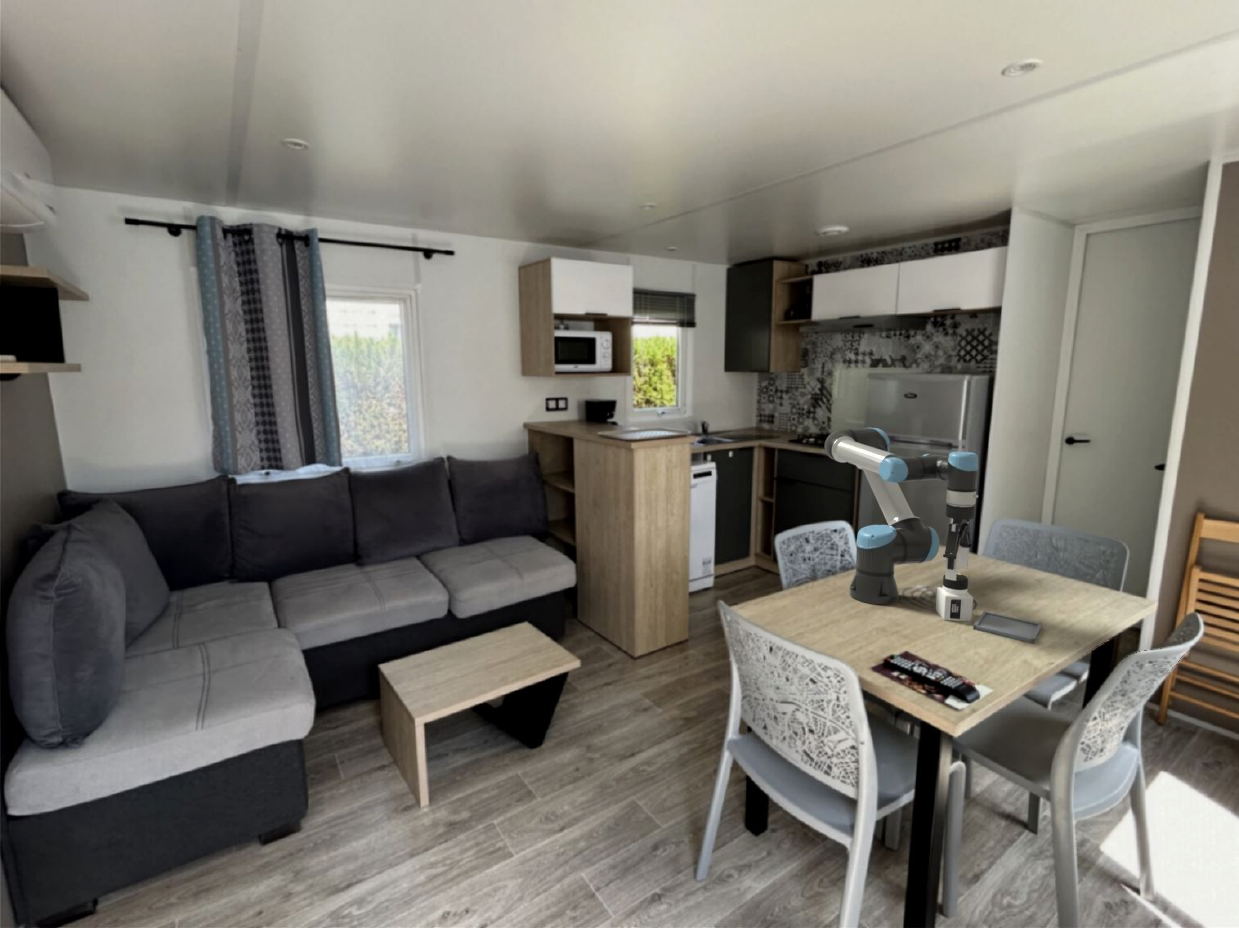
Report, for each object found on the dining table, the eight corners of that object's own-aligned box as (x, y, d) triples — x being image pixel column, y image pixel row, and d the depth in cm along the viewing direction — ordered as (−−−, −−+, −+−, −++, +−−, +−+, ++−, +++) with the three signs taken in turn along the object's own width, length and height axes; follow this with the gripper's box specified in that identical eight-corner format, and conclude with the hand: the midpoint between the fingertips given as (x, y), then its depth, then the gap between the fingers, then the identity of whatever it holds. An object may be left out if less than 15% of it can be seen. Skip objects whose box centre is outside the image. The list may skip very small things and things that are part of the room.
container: (972, 622, 174) (974, 580, 172) (943, 620, 175) (946, 578, 173) (962, 611, 181) (965, 571, 179) (935, 610, 183) (937, 570, 181)
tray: (973, 629, 169) (973, 625, 169) (983, 614, 178) (984, 610, 178) (1033, 644, 159) (1034, 639, 159) (1041, 627, 169) (1042, 623, 169)
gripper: (964, 513, 161) (960, 587, 164) (985, 498, 179) (980, 565, 182) (934, 510, 166) (930, 581, 169) (957, 496, 184) (953, 561, 187)
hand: (956, 573), depth 176 cm, fingers open, 13 cm apart
